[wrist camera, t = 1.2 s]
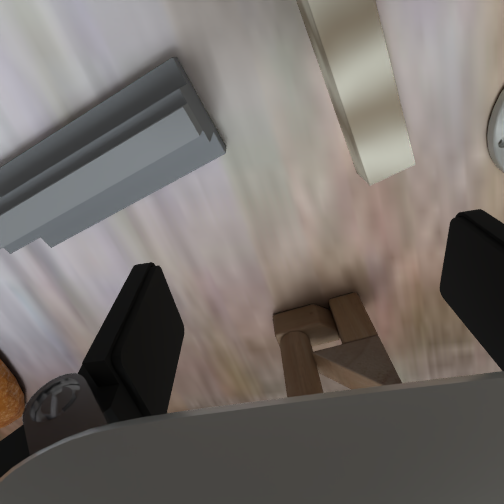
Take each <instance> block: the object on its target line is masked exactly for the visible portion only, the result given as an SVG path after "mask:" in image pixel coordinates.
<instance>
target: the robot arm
mask: <svg viewBox="0 0 504 504" xmlns="http://www.w3.org/2000/svg"><path fill="white" fill-rule="evenodd" d="M487 141H488V150H489V153H490V156H491V159H492V160H493V162H494V163H495V165H496V167H498V168H499V169H500V170H501V171H502V172H503V173H504V89H503V91H502V92H501V94H500V96H499V98H498V100H497V102H496V104H495V106H494V108H493V111H492V115H491V118H490V121H489V126H488V133H487ZM440 292H441V295H442V297H443V298H444V300H445V301H446V302H447V303H448V305H449V306H450V307H451V308H452V309H453V311H454V312H455V313H456V314H457V316H458V317H459V318H460V319H461V320H462V322H463V323H464V324H465V325H466V327H467V328H468V329H469V330H470V332H471V333H472V334H473V335H474V336H475V338H476V339H477V340H478V341H479V343H480V344H481V345H482V346H483V347H484V349H485V350H486V351H487V352H488V354H489V355H490V356H491V357H492V359H493V360H494V361H495V362H496V363H497V365H498V366H499V367H500V368H501V370H502V371H501V372H493V373H484V374H476V375H467V376H459V377H450V378H442V379H433V380H425V381H416V382H408V383H400V384H392V385H384V386H375V387H367V388H359V389H351V390H343V391H335V392H327V393H319V394H311V395H303V396H295V397H287V398H279V399H271V400H264V401H256V402H248V403H240V404H233V405H225V406H217V407H209V408H202V409H195V410H188V411H181V412H174V413H167V409H168V405H169V400H170V396H171V391H172V387H173V382H174V378H175V373H176V369H177V364H178V360H179V355H180V351H181V346H182V342H183V337H184V325H183V322H182V319H181V317H180V314H179V312H178V309H177V307H176V304H175V302H174V299H173V297H172V294H171V292H170V289H169V287H168V284H167V282H166V279H165V277H164V274H163V272H162V269H161V267H160V266H155V264H154V263H152V262H151V263H144V264H138V265H135V266H134V267H133V268H132V270H131V272H130V274H129V276H128V278H127V280H126V282H125V283H124V285H123V287H122V289H121V291H120V293H119V295H118V297H117V298H116V300H115V302H114V304H113V306H112V308H111V310H110V312H109V313H108V315H107V317H106V319H105V321H104V323H103V325H102V327H101V328H100V330H99V332H98V334H97V336H96V338H95V340H94V342H93V343H92V345H91V347H90V349H89V351H88V353H87V355H86V357H85V358H84V360H83V362H82V366H81V368H80V370H79V372H78V374H76V373H71V374H65V375H62V376H59V377H57V378H55V379H53V380H51V381H49V382H48V383H46V384H45V385H44V386H42V387H41V388H40V389H39V390H38V391H37V392H36V393H35V394H34V395H33V396H32V397H31V398H30V400H29V401H28V403H27V404H26V406H25V409H24V411H23V425H22V426H21V427H19V428H18V429H17V430H15V431H14V432H13V433H11V434H10V435H8V436H7V437H6V438H4V439H3V440H1V441H0V504H504V224H503V223H502V222H500V221H499V220H497V219H495V218H494V217H492V216H491V215H489V214H488V213H486V212H485V211H483V210H481V209H478V210H472V211H465V212H460V213H458V214H457V215H456V217H455V218H453V219H452V220H451V222H450V227H449V233H448V239H447V245H446V251H445V257H444V263H443V270H442V276H441V282H440Z"/></svg>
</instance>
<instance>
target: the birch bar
mask: <svg viewBox="0 0 504 504" xmlns="http://www.w3.org/2000/svg"><path fill="white" fill-rule="evenodd" d="M296 1H297V4H298V7H299V10H300V12H301V15H302V18H303V21H304V24H305V27H306V30H307V32H308V35H309V38H310V41H311V44H312V47H313V50H314V52H315V55H316V58H317V61H318V64H319V67H320V70H321V72H322V75H323V78H324V81H325V84H326V87H327V89H328V92H329V95H330V98H331V101H332V104H333V107H334V109H335V112H336V115H337V118H338V121H339V124H340V127H341V129H342V132H343V135H344V138H345V141H346V144H347V147H348V149H349V152H350V155H351V158H352V161H353V164H354V166H355V169H356V172H357V174H358V175H359V176H360V177H362V178H363V179H364V180H365V181H366V182H367V183H368V184H369V185H370V186H371V185H373V184H375V183H377V182H379V181H381V180H383V179H386V178H388V177H390V176H392V175H394V174H396V173H398V172H400V171H403V170H405V169H407V168H409V167H411V166H413V165H415V160H414V156H413V152H412V148H411V144H410V140H409V136H408V132H407V128H406V124H405V120H404V116H403V112H402V108H401V104H400V99H399V95H398V91H397V87H396V83H395V79H394V75H393V71H392V67H391V63H390V59H389V55H388V51H387V47H386V43H385V38H384V34H383V30H382V26H381V22H380V18H379V14H378V10H377V6H376V2H375V0H296Z"/></svg>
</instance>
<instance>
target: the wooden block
mask: <svg viewBox="0 0 504 504" xmlns="http://www.w3.org/2000/svg"><path fill="white" fill-rule="evenodd" d="M329 305H330V309H331V311H330V310H328V309H325V308H323V307H320V306H318V305H315V304H311V305H308V306H304V307H301V308H297V309H293V310H290V311H286V312H282V313H279V314H275V315H273V324H274V332H275V337H276V339H277V341H278V344H279V346H280V349H281V356H282V363H283V370H284V377H285V384H286V391H287V397H295V396H303V395H311V394H319V393H323V390H322V386H321V382H320V378H319V374H318V371H319V373H320V374H322V375H324V376H326V377H328V378H330V379H332V380H334V381H336V382H338V383H340V384H342V385H344V386H346V387H348V388H350V389H359V388H367V387H375V386H384V385H392V384H400V383H402V382H401V380H400V378H399V376H398V374H397V372H396V370H395V368H394V366H393V364H392V362H391V360H390V358H389V356H388V354H387V352H386V350H385V348H384V346H383V344H382V342H381V340H380V338H379V337H378V334H377V332H376V330H375V328H374V326H373V324H372V322H371V320H370V318H369V316H368V314H367V312H366V310H365V308H364V306H363V304H362V302H361V300H360V298H359V296H358V294H357V293H356V292H354V293H350V294H346V295H343V296H339V297H336V298H332V299H330V300H329ZM339 338H340V339H341V342H342V345H338V346H334V347H330V348H326V349H322V350H319V351H315V352H313V350H312V347H313V346H317V345H320V344H324V343H328V342H332V341H336V340H339ZM316 365H317V366H316ZM317 368H318V370H317Z"/></svg>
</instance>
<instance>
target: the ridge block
mask: <svg viewBox="0 0 504 504" xmlns="http://www.w3.org/2000/svg"><path fill="white" fill-rule="evenodd" d="M225 153H226V146H225V144H224V143H223V141H222V139H221V137H220V135H219V133H218V132H217V130H216V128H215V126H214V124H213V123H212V121H211V119H210V117H209V115H208V113H207V112H206V110H205V108H204V106H203V104H202V102H201V101H200V99H199V97H198V95H197V93H196V91H195V90H194V88H193V86H192V84H191V82H190V80H189V79H188V77H187V75H186V73H185V71H184V69H183V68H182V66H181V64H180V62H179V60H178V58H177V57H172V58H171V59H169V60H167V61H166V62H164V63H163V64H161V65H160V66H158V67H157V68H155V69H153V70H152V71H150V72H149V73H147V74H146V75H144V76H142V77H141V78H139V79H138V80H136V81H135V82H133V83H132V84H130V85H128V86H127V87H125V88H124V89H122V90H121V91H119V92H118V93H116V94H114V95H113V96H111V97H110V98H108V99H107V100H105V101H103V102H102V103H100V104H99V105H97V106H96V107H94V108H93V109H91V110H89V111H88V112H86V113H85V114H83V115H82V116H80V117H78V118H77V119H75V120H74V121H72V122H71V123H69V124H68V125H66V126H64V127H63V128H61V129H60V130H58V131H57V132H55V133H53V134H52V135H50V136H49V137H47V138H46V139H44V140H43V141H41V142H39V143H38V144H36V145H35V146H33V147H32V148H30V149H28V150H27V151H25V152H24V153H22V154H21V155H19V156H18V157H16V158H14V159H13V160H11V161H10V162H8V163H7V164H5V165H3V166H2V167H0V197H1V198H0V249H1V248H4V249H6V250H7V251H8V252H9V253H10V254H11V253H13V252H15V251H17V250H18V249H20V248H22V247H24V246H26V245H27V244H29V243H31V242H33V241H35V240H36V239H38V238H40V237H41V238H42V239H43V240H44V241H45V242H46V243H47V244H48V245H49V246H50V247H51V248H52V247H54V246H55V245H57V244H59V243H61V242H63V241H65V240H67V239H68V238H70V237H72V236H74V235H76V234H78V233H79V232H81V231H83V230H85V229H87V228H89V227H91V226H92V225H94V224H96V223H98V222H100V221H102V220H103V219H105V218H107V217H109V216H111V215H113V214H115V213H116V212H118V211H120V210H122V209H124V208H126V207H127V206H129V205H131V204H133V203H135V202H137V201H139V200H140V199H142V198H144V197H146V196H148V195H150V194H151V193H153V192H155V191H157V190H159V189H161V188H163V187H164V186H166V185H168V184H170V183H172V182H174V181H175V180H177V179H179V178H181V177H183V176H185V175H187V174H188V173H190V172H192V171H194V170H196V169H198V168H199V167H201V166H203V165H205V164H207V163H209V162H211V161H212V160H214V159H216V158H218V157H220V156H222V155H224V154H225Z"/></svg>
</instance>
